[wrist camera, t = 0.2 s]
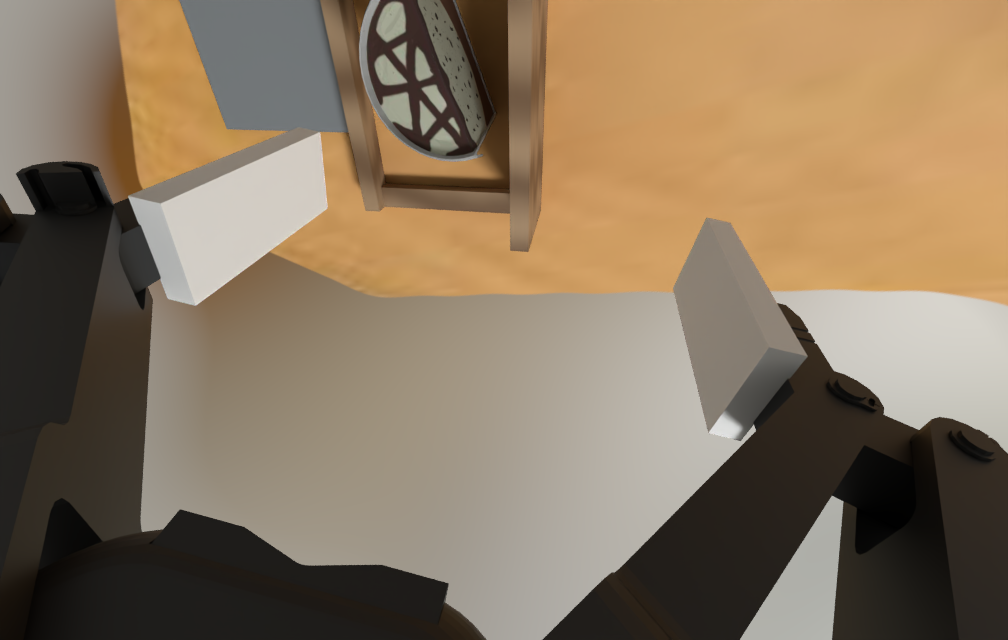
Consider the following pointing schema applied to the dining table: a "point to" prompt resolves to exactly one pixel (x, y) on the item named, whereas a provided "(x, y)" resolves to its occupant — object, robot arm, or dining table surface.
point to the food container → (425, 77)
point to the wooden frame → (523, 124)
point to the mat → (268, 63)
